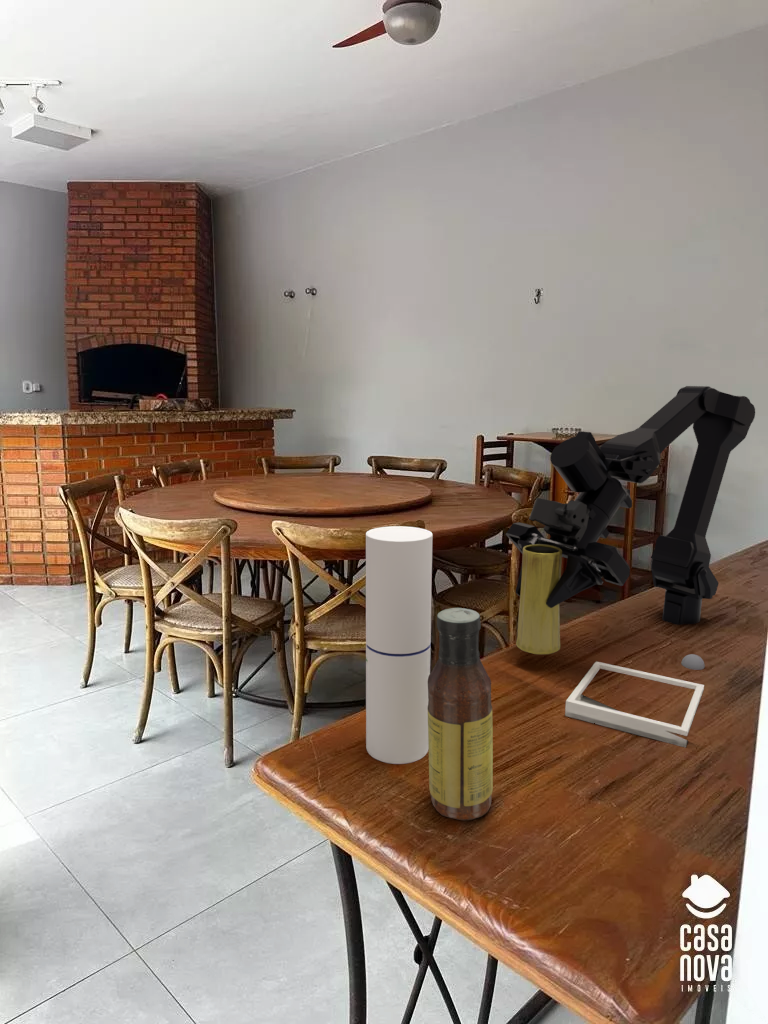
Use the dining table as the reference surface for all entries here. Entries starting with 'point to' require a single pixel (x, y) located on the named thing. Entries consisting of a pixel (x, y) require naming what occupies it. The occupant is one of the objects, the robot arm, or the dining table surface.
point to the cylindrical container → (398, 642)
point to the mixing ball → (693, 662)
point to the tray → (616, 719)
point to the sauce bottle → (460, 720)
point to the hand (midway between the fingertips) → (532, 600)
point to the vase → (539, 600)
